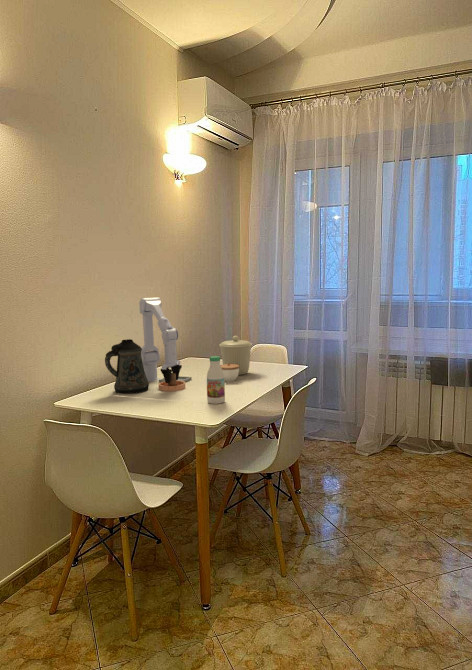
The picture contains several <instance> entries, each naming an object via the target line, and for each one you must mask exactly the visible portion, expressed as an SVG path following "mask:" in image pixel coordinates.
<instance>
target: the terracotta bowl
mask: <svg viewBox="0 0 472 670" xmlns="http://www.w3.org/2000/svg"><path fill="white" fill-rule="evenodd" d="M184 389H186V382H183V381H176V386H168V383H166V382H161V383H159V382H158V390H159V391H162V392H176V391H182V390H184Z"/></svg>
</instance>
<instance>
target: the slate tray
mask: <svg viewBox="0 0 472 670" xmlns="http://www.w3.org/2000/svg"><path fill="white" fill-rule="evenodd" d="M192 380H193V379H192V377H191V376H181V375H179V377H178V380H176V381H183V382H185V383H188V382H190V381H192ZM161 382H165V379H164V377H163V378H161V379H158V384H159V383H161Z"/></svg>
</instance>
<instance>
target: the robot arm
mask: <svg viewBox="0 0 472 670" xmlns="http://www.w3.org/2000/svg"><path fill="white" fill-rule="evenodd" d="M138 304H139V307H138V308H139V313H140V314H142V327H143V328H142V329H143V346H142V347H141V348H142V352H141V357H142V362H143V367H144V371H145V374H146V378H147V380H148V382H155V381H159V380H160V379H162V378H161V377H158V366H157V365H158V364H159V362H160V360H161V355H160V351H159V350H160V349H159V347H157V346H156V345H155V342H154V340H155V339H154V338H155V337H154V323H153V316H154V317H155V318H156V320H157V326H158V328H159V330H160V331H161V339H162V342H163V343H162V344H163V346H164V364H162V365H161V368H160V372H161V374H162V375H163V378H164V379H165V382H166V383H170V381H171V373H176V380H178V377H179V376H180V372H181V371H182V370H181V369H182V367H183V365H182V364H181V360H178V355H177V341H178V339H179V331H178V330H177V328H175V327H173V326H172V324H171V322H170V320H169V318H167V317H165V315H164V312H163V310H162V300H161V298H160V297H159V296H156V297H142V298H140V300H139V302H138Z"/></svg>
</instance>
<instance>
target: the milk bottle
mask: <svg viewBox="0 0 472 670" xmlns="http://www.w3.org/2000/svg"><path fill="white" fill-rule="evenodd" d="M209 363H210V364H209V368H208V370H207V372H206V373H207V374H206V399H207V403H209V404H211V405H215V404H216V405H218V404H223V403H225V401H226V387H225V386H226V385H225V383H226V382H225V381H224V373H223V370H222V368H221V366H220V365H221V356H218V355H212V356H210V357H209Z"/></svg>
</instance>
